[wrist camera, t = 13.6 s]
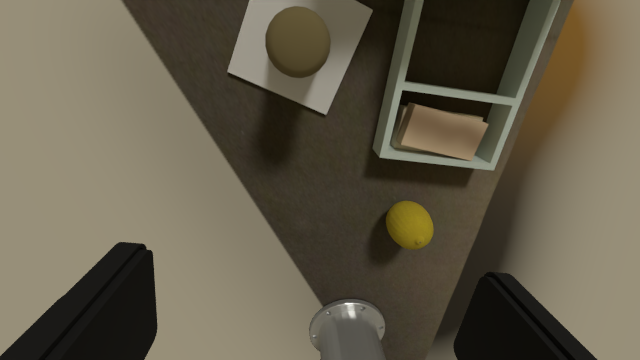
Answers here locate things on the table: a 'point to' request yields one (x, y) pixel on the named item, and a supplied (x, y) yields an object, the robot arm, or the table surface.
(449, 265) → the table surface
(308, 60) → the cork
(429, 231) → the lemon
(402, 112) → the offcut lower
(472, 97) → the rack
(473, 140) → the offcut upper
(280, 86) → the mat
